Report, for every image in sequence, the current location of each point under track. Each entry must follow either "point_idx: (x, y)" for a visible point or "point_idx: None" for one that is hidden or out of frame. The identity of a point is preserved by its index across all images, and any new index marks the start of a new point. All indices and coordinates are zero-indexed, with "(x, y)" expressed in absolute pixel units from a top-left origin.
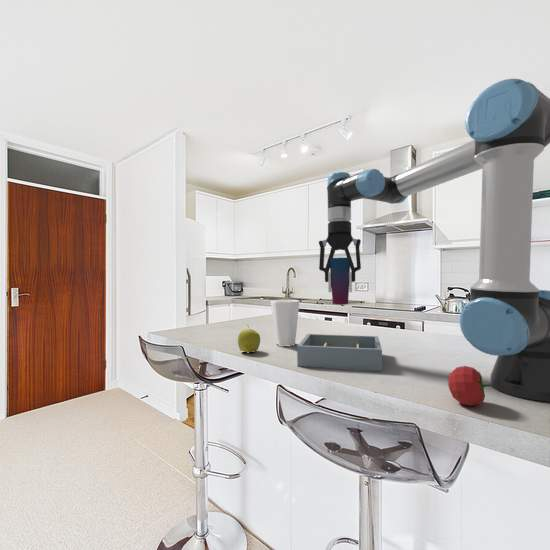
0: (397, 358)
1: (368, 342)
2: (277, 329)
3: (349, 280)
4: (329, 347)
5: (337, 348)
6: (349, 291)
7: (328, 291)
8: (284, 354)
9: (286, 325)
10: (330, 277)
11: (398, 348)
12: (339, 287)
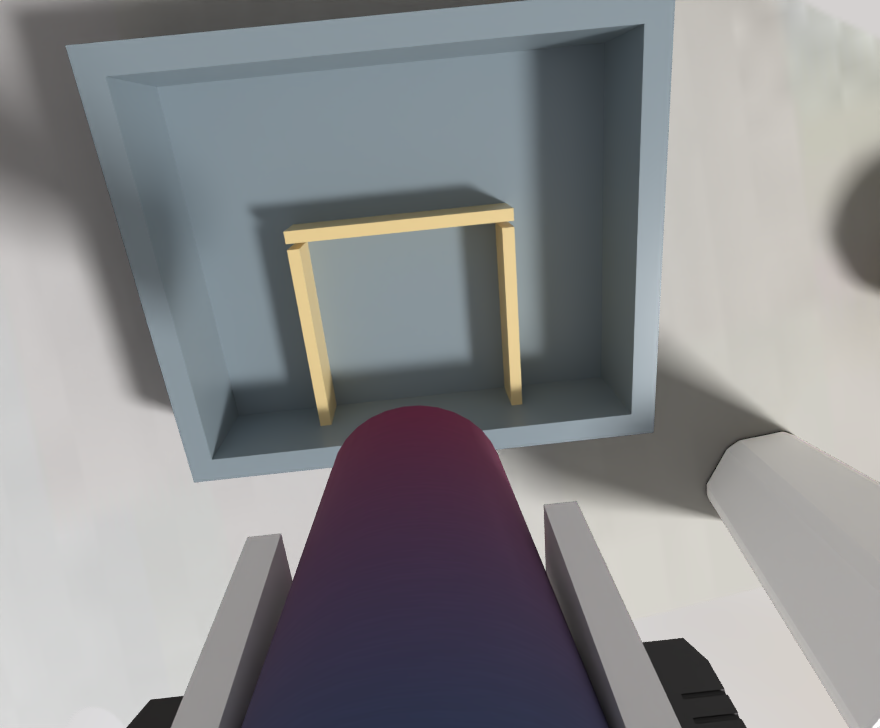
0: (113, 368)
1: (260, 437)
2: (875, 480)
3: (227, 687)
4: (436, 10)
5: (378, 16)
6: (275, 542)
7: (579, 509)
8: (737, 266)
9: (831, 502)
10: (617, 701)
11: (151, 570)
12: (408, 515)
